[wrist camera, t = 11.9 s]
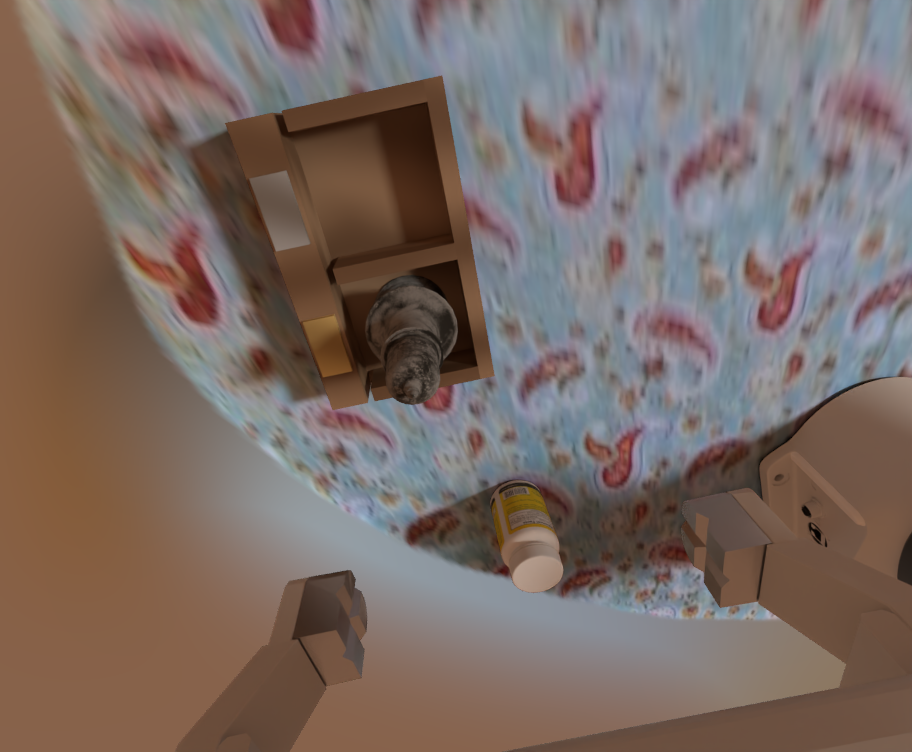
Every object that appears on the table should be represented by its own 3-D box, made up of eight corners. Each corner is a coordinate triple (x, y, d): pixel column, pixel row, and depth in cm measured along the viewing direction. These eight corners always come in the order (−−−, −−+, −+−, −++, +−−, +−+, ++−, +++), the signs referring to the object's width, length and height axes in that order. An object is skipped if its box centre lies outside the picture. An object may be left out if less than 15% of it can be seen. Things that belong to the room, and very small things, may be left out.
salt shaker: (351, 311, 33) (325, 398, 23) (411, 252, 32) (413, 315, 21) (411, 364, 36) (413, 466, 25) (470, 312, 34) (498, 396, 24)
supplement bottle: (518, 525, 45) (540, 604, 38) (479, 505, 44) (493, 583, 36) (551, 491, 44) (581, 567, 36) (512, 469, 42) (534, 544, 35)
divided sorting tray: (487, 353, 36) (495, 378, 33) (339, 384, 37) (332, 412, 33) (438, 80, 28) (442, 75, 24) (246, 122, 28) (223, 123, 25)
